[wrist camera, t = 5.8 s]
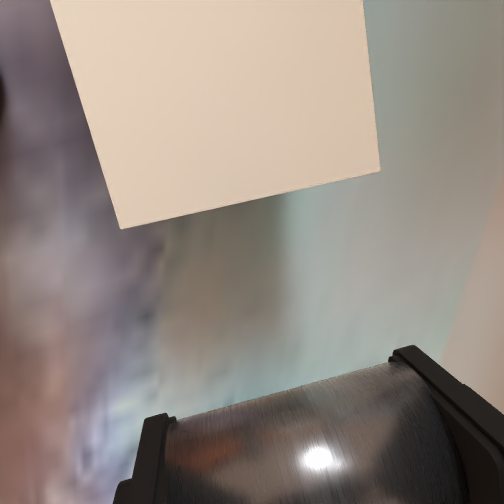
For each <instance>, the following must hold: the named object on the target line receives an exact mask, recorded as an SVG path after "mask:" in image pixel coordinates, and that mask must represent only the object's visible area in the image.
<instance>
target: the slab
mask: <svg viewBox="0 0 504 504" xmlns="http://www.w3.org/2000/svg"><path fill="white" fill-rule="evenodd" d="M50 2H51V6H52V9H53V12H54V15H55V18H56V22H57V25H58V28H59V31H60V35H61V38H62V41H63V44H64V48H65V51H66V54H67V57H68V61H69V64H70V67H71V70H72V74H73V77H74V80H75V83H76V87H77V90H78V93H79V96H80V100H81V103H82V106H83V109H84V113H85V116H86V119H87V122H88V126H89V129H90V132H91V135H92V139H93V142H94V145H95V148H96V152H97V155H98V158H99V161H100V165H101V168H102V171H103V174H104V178H105V181H106V184H107V187H108V191H109V194H110V197H111V200H112V204H113V207H114V210H115V213H116V216H117V220H118V223H119V226H120V229H125V228H130V227H134V226H139V225H143V224H148V223H152V222H157V221H161V220H166V219H170V218H175V217H179V216H184V215H188V214H193V213H197V212H201V211H206V210H210V209H215V208H219V207H224V206H228V205H233V204H237V203H242V202H246V201H251V200H255V199H260V198H264V197H268V196H273V195H277V194H282V193H286V192H291V191H295V190H300V189H304V188H309V187H313V186H318V185H322V184H327V183H331V182H336V181H340V180H344V179H349V178H353V177H358V176H362V175H367V174H371V173H376V172H380V171H381V168H380V159H379V149H378V140H377V130H376V121H375V112H374V102H373V93H372V83H371V74H370V64H369V55H368V45H367V36H366V26H365V17H364V8H363V0H50Z"/></svg>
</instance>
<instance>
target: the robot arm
mask: <svg viewBox="0 0 504 504" xmlns="http://www.w3.org/2000/svg"><path fill="white" fill-rule="evenodd" d="M391 361H395V362H403V363H404V364H406V365H408V366H409V367H410V368H411V369H413V370H414V371H415V372H416V373H417V374H418V375H419V376H420V377H421V379H422V380H423V381H424V382H425V383H426V385H427V386H428V387H429V389H430V390H431V391H432V392H430V393H429V394H430V395H431V397H432V398H433V400H434V402H435V403H436V405H437V407H438V408H439V410H440V412H441V414H442V415H443V417H444V419H445V421H446V423H447V425H448V427H449V429H450V431H451V433H452V436H453V438H454V440H455V443H456V445H457V448H458V450H459V453H460V456H461V459H462V462H463V465H464V469H465V472H466V476H467V481H468V486H469V493H470V504H504V415H503V414H502V413H501V412H499V411H498V410H497V409H496V408H495V407H493V406H492V405H491V404H490V403H488V402H487V401H486V400H485V399H483V398H482V397H481V396H480V395H478V394H477V393H476V392H475V391H473V390H472V389H471V388H469V387H468V386H466V385H465V384H462V383H461V382H459V381H458V380H457V379H456V378H454V377H453V376H452V375H451V374H449V373H448V372H447V371H446V370H445V369H443V368H442V367H441V366H440V365H438V364H437V363H436V362H435V361H434V360H432V359H431V358H430V357H429V356H427V355H426V354H425V353H424V352H423V351H421V350H420V349H419V348H418V347H416V346H415V345H410V346H407V347H403V348H399V349H396V350H394V351H393V356H390V357H389V359H388V362H391ZM174 421H176V418H175V416H173V417H170V418H169V417H168V415H167V413H163V414H159V415H156V416H152V417H148V418H146V419H145V420H144V424H143V428H142V433H141V438H140V442H139V447H138V452H137V457H136V461H135V466H134V471H133V475H132V478H131V479H127V480H124V481H121V482H120V483H119V484H118V487H117V489H116V493H115V497H114V501H113V504H170V493H169V478H168V470H166V471H165V445H166V437H167V431H168V428H169V425H170V424H172V423H173V422H174Z"/></svg>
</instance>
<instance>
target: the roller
mask: <svg viewBox="0 0 504 504" xmlns="http://www.w3.org/2000/svg"><path fill="white" fill-rule="evenodd" d="M430 392H432V391H431V390H430V389H429V387H428V386H427V385H426V383H425V382H424V381H423V380H422V379H421V377H420V376H419V375H418V374H417V373H416V372H415V371H414V370H413V369H411V368H410V367H409V366H408V365H406V364H404V363H403V362H395V361H391V362H387V363H383V364H380V365H376V366H372V367H369V368H365V369H361V370H358V371H354V372H351V373H347V374H343V375H340V376H336V377H332V378H329V379H325V380H321V381H318V382H314V383H311V384H307V385H303V386H300V387H296V388H292V389H289V390H285V391H281V392H278V393H274V394H270V395H267V396H263V397H260V398H256V399H252V400H249V401H245V402H241V403H238V404H234V405H230V406H227V407H223V408H219V409H216V410H212V411H209V412H205V413H201V414H198V415H194V416H190V417H187V418H183V419H179V420H176V421H174V422H173V423H172V424H170V425H169V428H168V431H167V437H166V445H165V471H166V470H168V478H169V493H170V504H470V493H469V486H468V481H467V476H466V472H465V469H464V465H463V462H462V459H461V456H460V453H459V450H458V448H457V445H456V443H455V440H454V438H453V436H452V433H451V431H450V429H449V427H448V425H447V423H446V421H445V419H444V417H443V415H442V414H441V412H440V410H439V408H438V407H437V405H436V403H435V402H434V400H433V398H432V397H431V395H430V394H429V393H430Z"/></svg>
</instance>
